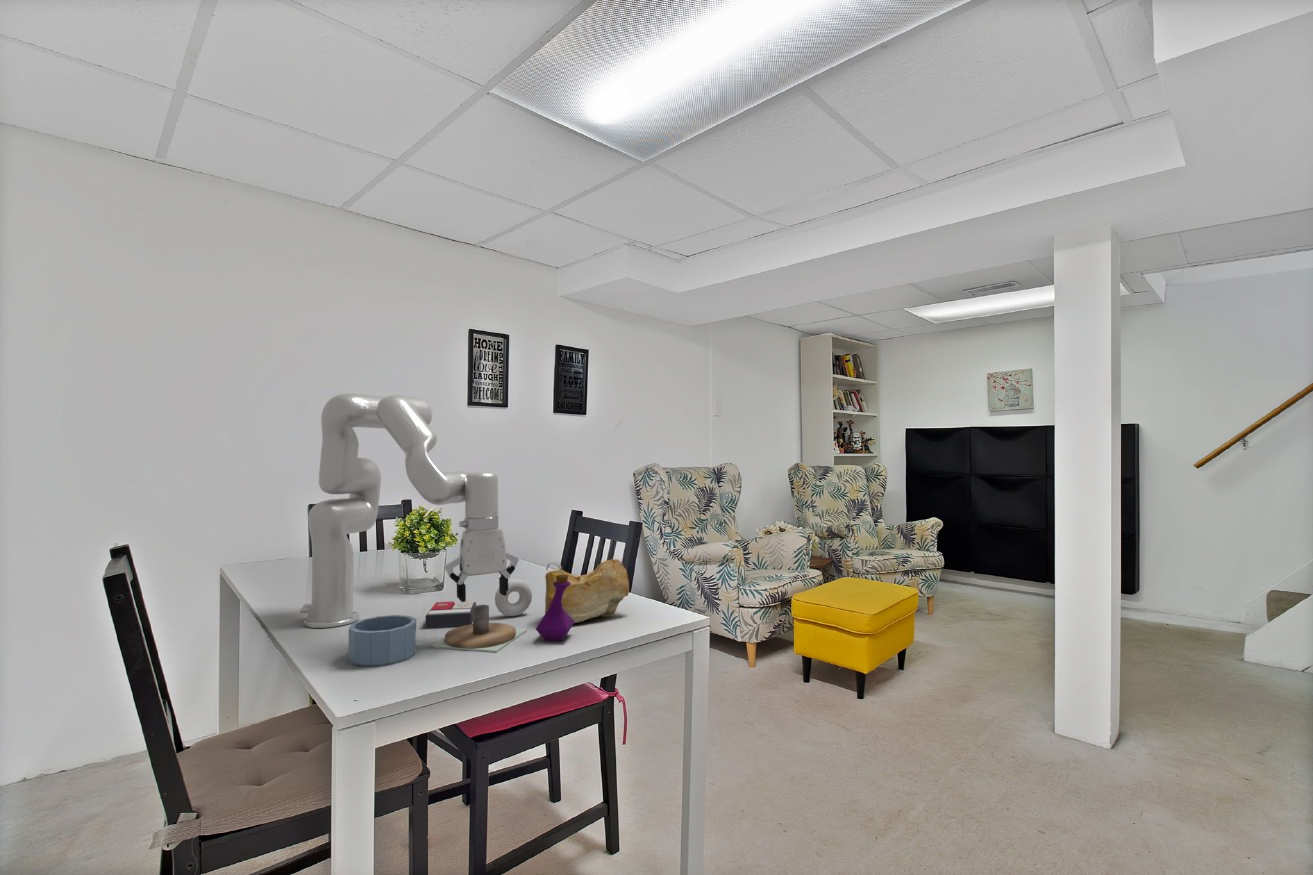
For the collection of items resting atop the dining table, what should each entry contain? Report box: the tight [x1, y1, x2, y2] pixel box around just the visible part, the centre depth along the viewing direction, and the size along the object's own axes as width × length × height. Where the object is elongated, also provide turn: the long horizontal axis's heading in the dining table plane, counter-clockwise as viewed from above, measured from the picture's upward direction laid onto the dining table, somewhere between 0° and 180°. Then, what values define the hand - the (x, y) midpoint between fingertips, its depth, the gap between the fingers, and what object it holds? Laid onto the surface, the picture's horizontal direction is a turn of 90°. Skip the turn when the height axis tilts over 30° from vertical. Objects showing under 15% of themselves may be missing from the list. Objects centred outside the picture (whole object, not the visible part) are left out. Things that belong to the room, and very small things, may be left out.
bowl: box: [347, 614, 417, 668], centre depth 130 cm, size 13×13×7 cm
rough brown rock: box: [544, 558, 630, 624], centre depth 162 cm, size 23×17×15 cm
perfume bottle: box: [535, 561, 575, 642], centre depth 143 cm, size 8×8×18 cm
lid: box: [444, 604, 517, 648], centre depth 142 cm, size 16×16×7 cm
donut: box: [494, 578, 533, 617], centre depth 162 cm, size 10×4×10 cm, turn 119°
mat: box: [430, 628, 528, 653], centre depth 142 cm, size 16×16×1 cm
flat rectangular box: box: [425, 600, 477, 630], centre depth 159 cm, size 11×4×15 cm
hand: (483, 597), depth 142 cm, fingers open, 9 cm apart
